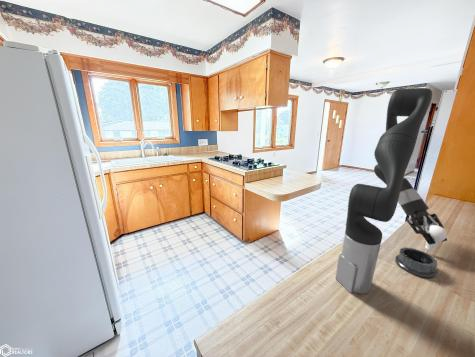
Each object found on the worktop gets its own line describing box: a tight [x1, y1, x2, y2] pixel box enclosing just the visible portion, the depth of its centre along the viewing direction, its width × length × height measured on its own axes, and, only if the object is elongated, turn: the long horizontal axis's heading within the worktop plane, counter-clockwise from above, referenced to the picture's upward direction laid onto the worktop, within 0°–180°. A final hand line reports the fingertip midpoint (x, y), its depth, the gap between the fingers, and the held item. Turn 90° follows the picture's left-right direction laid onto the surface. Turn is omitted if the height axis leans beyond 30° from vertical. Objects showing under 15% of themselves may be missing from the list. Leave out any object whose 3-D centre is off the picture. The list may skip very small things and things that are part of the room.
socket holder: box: [394, 247, 438, 280], centre depth 67 cm, size 11×11×4 cm
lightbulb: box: [425, 224, 448, 252], centre depth 72 cm, size 6×6×11 cm
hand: (438, 242), depth 71 cm, fingers closed on lightbulb, 6 cm apart
